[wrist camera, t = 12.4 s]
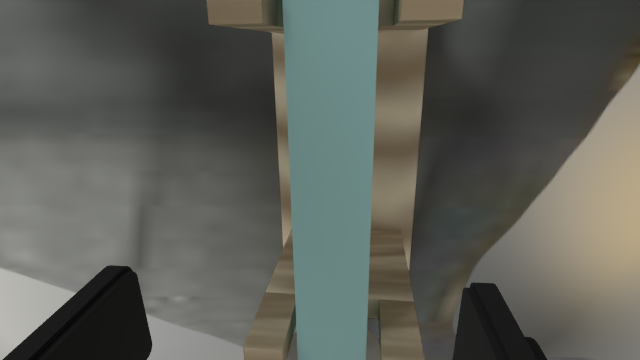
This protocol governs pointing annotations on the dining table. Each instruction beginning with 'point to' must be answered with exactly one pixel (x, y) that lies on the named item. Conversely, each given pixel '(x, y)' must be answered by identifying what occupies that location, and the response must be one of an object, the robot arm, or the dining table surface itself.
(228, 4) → the stand
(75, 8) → the dining table surface
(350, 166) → the teal long bar
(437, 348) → the dining table surface
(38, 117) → the dining table surface
